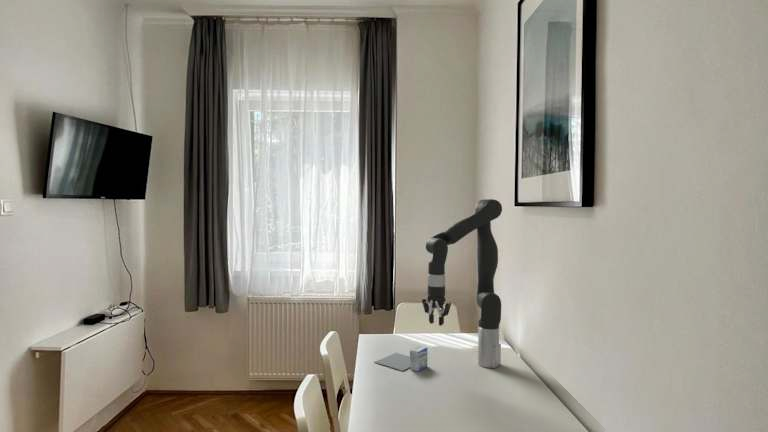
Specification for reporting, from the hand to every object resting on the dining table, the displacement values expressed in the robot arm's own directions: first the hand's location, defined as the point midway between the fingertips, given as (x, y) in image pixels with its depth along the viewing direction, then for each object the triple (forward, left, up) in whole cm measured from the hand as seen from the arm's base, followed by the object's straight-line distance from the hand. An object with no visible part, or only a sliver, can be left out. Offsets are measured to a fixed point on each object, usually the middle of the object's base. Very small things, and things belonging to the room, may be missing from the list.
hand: (436, 324), depth 176 cm
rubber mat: (+20, 0, -21) cm, 29 cm away
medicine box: (+9, 0, -22) cm, 23 cm away
